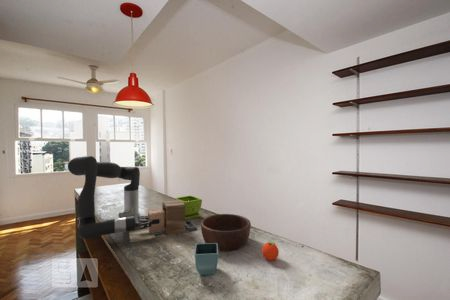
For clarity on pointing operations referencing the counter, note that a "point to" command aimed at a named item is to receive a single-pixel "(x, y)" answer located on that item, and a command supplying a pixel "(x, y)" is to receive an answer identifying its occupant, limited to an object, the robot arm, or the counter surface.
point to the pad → (140, 235)
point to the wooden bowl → (226, 231)
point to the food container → (128, 213)
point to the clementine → (270, 251)
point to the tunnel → (174, 216)
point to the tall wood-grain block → (161, 226)
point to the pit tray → (190, 225)
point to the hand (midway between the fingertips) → (158, 219)
